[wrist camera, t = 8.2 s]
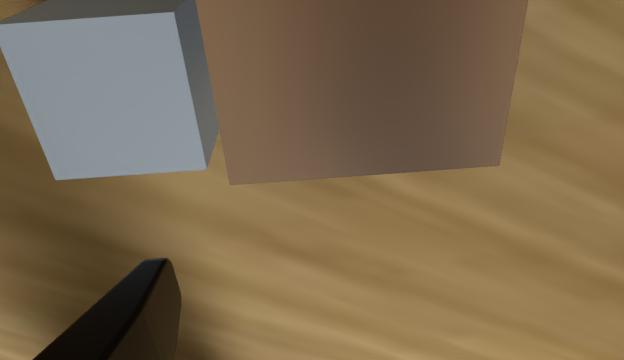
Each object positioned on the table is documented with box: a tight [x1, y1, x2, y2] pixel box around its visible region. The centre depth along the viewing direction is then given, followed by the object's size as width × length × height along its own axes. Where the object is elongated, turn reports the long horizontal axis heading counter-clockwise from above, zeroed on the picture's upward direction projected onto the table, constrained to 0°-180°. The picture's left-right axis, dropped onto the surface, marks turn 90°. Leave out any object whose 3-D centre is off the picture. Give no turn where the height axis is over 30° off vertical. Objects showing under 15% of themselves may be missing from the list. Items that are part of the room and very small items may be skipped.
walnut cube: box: [196, 0, 528, 185], centre depth 9 cm, size 5×5×5 cm
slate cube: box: [0, 0, 219, 180], centre depth 16 cm, size 5×5×5 cm
